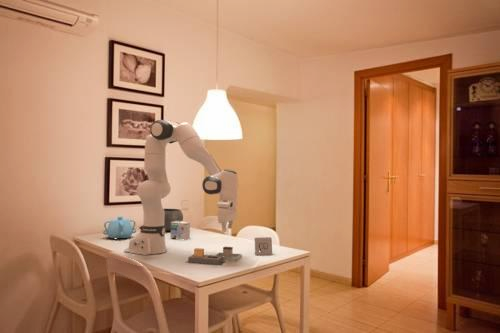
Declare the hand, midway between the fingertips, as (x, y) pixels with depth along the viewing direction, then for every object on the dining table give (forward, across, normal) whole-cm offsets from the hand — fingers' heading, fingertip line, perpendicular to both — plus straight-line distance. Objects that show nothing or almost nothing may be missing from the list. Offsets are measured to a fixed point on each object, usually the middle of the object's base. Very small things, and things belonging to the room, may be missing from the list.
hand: (227, 230), depth 185 cm
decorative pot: (+18, -33, -81) cm, 89 cm away
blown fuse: (+15, 0, +1) cm, 15 cm away
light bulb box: (+17, -43, -44) cm, 64 cm away
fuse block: (+15, +10, -7) cm, 19 cm away
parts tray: (+15, 0, +1) cm, 15 cm away
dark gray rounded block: (+17, -67, -64) cm, 95 cm away
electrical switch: (+15, -18, +15) cm, 28 cm away
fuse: (+14, +10, -11) cm, 20 cm away
